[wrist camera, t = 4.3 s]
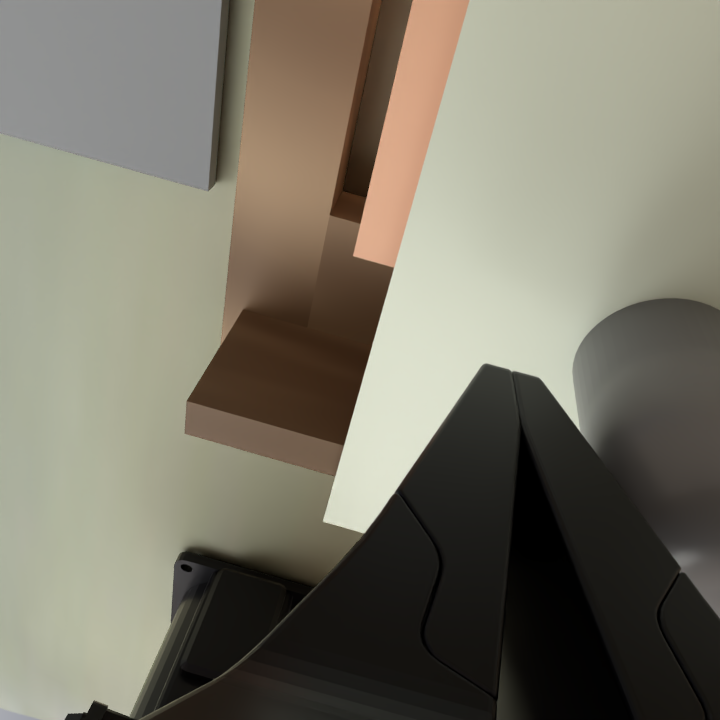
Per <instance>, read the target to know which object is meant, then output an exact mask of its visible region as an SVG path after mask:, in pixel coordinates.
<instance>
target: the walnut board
mask: <svg viewBox="0 0 720 720" xmlns="http://www.w3.org/2000/svg"><path fill="white" fill-rule="evenodd" d="M381 3H382V0H255V5H254V15H253V25H252V35H251V45H250V55H249V65H248V75H247V85H246V95H245V105H244V115H243V125H242V136H241V146H240V156H239V166H238V176H237V186H236V196H235V206H234V216H233V226H232V236H231V246H230V256H229V266H228V276H227V286H226V296H225V306H224V316H223V326H222V336H221V346H220V348H219V349H218V351H217V353H216V354H215V356H214V358H213V359H212V361H211V362H210V364H209V366H208V367H207V369H206V371H205V372H204V374H203V375H202V377H201V379H200V380H199V382H198V384H197V385H196V387H195V388H194V390H193V392H192V393H191V395H190V397H189V398H188V400H187V405H186V421H185V434H188V435H192V436H195V437H199V438H202V439H206V440H209V441H213V442H216V443H220V444H223V445H227V446H230V447H234V448H237V449H241V450H244V451H248V452H251V453H255V454H258V455H262V456H265V457H269V458H272V459H276V460H279V461H283V462H286V463H290V464H293V465H297V466H300V467H304V468H307V469H311V470H314V471H318V472H321V473H325V474H328V475H332V476H336V473H337V469H338V465H339V462H340V458H341V455H342V451H343V448H344V444H345V441H346V437H347V434H348V430H349V426H350V423H351V419H352V416H353V412H354V409H355V405H356V402H357V398H358V394H359V391H360V387H361V384H362V380H363V377H364V373H365V370H366V366H367V363H368V359H369V355H370V352H371V348H372V345H373V341H374V338H375V334H376V331H377V327H378V324H379V320H380V316H381V313H382V309H383V306H384V302H385V299H386V295H387V292H388V288H389V284H390V281H391V277H392V274H393V270H394V267H390V266H387V265H383V264H379V263H376V262H372V261H369V260H365V259H362V258H358V257H355V256H353V254H354V250H355V245H356V241H357V237H358V232H359V228H360V224H361V220H362V215H363V211H364V207H365V203H366V197H362V196H358V195H355V194H351V193H348V192H344V191H343V186H344V181H345V176H346V171H347V166H348V162H349V157H350V152H351V147H352V142H353V138H354V133H355V128H356V123H357V118H358V113H359V109H360V104H361V99H362V94H363V89H364V85H365V80H366V75H367V70H368V65H369V60H370V56H371V51H372V46H373V41H374V36H375V31H376V27H377V22H378V17H379V12H380V7H381Z"/></svg>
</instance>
